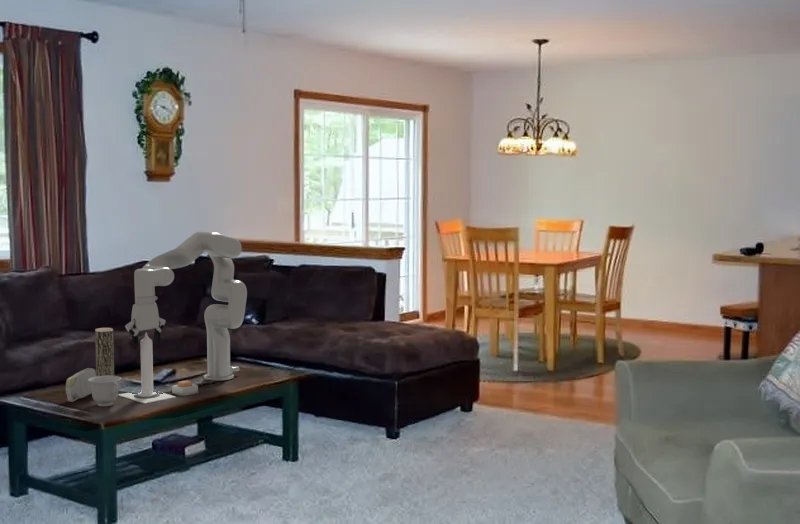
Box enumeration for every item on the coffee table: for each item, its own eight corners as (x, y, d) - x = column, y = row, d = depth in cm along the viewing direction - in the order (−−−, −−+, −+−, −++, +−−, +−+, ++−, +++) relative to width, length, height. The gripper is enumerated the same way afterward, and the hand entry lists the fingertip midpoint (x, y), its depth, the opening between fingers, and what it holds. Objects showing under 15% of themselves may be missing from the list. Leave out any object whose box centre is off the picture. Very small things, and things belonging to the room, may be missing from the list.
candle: (151, 397, 380) (150, 334, 377) (134, 396, 381) (133, 333, 379) (159, 393, 387) (158, 331, 384) (143, 392, 388) (141, 330, 386)
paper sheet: (149, 389, 395) (148, 388, 395) (175, 397, 382) (175, 396, 382) (117, 395, 385) (117, 394, 385) (144, 403, 372) (144, 402, 372)
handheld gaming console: (67, 406, 376) (92, 393, 389) (72, 407, 375) (98, 393, 388) (63, 379, 373) (89, 366, 387) (69, 379, 372) (95, 367, 386)
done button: (186, 385, 393) (186, 380, 393) (192, 386, 390) (192, 381, 390) (177, 386, 390) (177, 381, 390) (183, 388, 387) (183, 383, 387)
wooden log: (114, 388, 398) (113, 327, 395) (114, 392, 391) (112, 330, 389) (97, 389, 396) (95, 328, 393) (96, 393, 389) (94, 330, 387)
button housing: (187, 390, 395) (187, 382, 395) (198, 392, 390) (197, 385, 390) (172, 393, 390) (172, 385, 390) (182, 395, 385) (182, 388, 385)
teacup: (104, 411, 360) (103, 384, 359) (82, 404, 370) (81, 378, 369) (132, 405, 369) (132, 379, 368) (110, 399, 379) (109, 373, 378)
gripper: (158, 297, 389) (160, 339, 391) (120, 301, 376) (121, 345, 378) (169, 299, 384) (170, 342, 386) (130, 304, 371) (132, 348, 373)
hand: (146, 343), depth 382 cm, fingers open, 9 cm apart
